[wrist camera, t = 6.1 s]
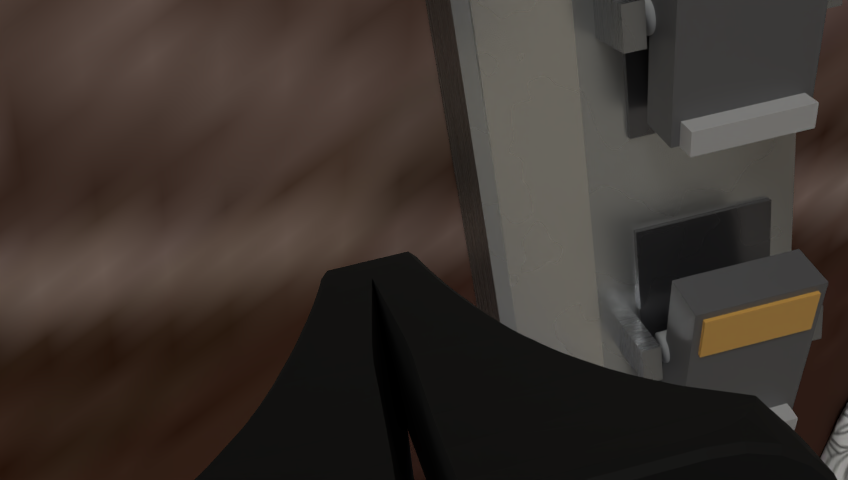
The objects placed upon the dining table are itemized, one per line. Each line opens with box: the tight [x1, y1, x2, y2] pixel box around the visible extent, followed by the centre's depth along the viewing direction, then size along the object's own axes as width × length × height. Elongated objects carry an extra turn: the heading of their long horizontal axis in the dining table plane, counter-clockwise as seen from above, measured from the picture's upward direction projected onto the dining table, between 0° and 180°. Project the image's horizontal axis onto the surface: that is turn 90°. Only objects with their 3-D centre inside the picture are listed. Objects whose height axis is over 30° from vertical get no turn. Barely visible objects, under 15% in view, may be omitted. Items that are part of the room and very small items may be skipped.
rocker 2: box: [654, 249, 828, 430], centre depth 20 cm, size 5×3×2 cm, turn 11°
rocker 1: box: [645, 0, 828, 157], centre depth 16 cm, size 5×3×2 cm, turn 11°
